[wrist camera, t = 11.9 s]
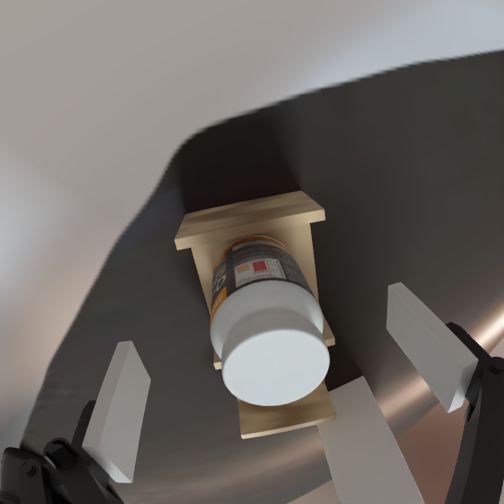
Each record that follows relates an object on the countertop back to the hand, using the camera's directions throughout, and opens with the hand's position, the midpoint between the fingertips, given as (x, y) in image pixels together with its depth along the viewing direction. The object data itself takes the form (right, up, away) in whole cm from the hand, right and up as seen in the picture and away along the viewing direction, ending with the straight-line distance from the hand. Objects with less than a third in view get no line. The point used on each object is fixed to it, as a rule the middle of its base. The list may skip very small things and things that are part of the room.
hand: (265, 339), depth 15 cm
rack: (0, 0, +10) cm, 10 cm away
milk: (+9, -12, +15) cm, 21 cm away
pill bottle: (0, +3, +7) cm, 8 cm away
